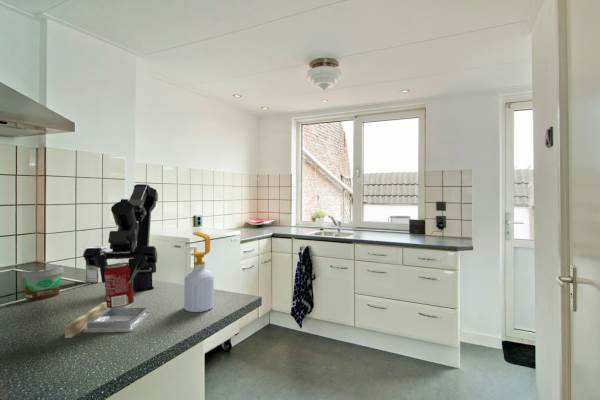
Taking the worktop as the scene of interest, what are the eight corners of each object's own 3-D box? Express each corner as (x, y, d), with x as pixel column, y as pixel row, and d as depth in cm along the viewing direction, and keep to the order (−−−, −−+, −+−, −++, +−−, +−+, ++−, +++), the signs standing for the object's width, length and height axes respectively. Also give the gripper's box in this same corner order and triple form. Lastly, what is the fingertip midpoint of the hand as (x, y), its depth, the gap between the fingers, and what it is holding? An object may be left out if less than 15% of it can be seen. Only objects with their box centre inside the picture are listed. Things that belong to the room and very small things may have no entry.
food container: (28, 303, 106) (27, 273, 106) (20, 300, 110) (20, 271, 110) (70, 294, 117) (70, 266, 117) (62, 291, 120) (62, 264, 120)
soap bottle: (190, 302, 109) (190, 230, 109) (217, 303, 109) (217, 230, 108) (179, 312, 100) (180, 233, 100) (208, 313, 100) (209, 234, 99)
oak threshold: (103, 311, 100) (103, 302, 100) (108, 311, 100) (108, 302, 100) (65, 337, 82) (64, 326, 82) (71, 337, 82) (71, 325, 82)
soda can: (129, 308, 89) (126, 265, 89) (102, 312, 88) (99, 268, 87) (137, 301, 95) (133, 261, 95) (112, 304, 94) (109, 263, 94)
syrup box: (108, 279, 137) (108, 245, 137) (98, 283, 131) (98, 247, 131) (95, 279, 138) (95, 245, 138) (85, 282, 132) (85, 247, 132)
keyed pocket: (107, 315, 97) (107, 307, 97) (148, 314, 98) (148, 307, 98) (84, 332, 85) (83, 323, 85) (131, 331, 86) (131, 323, 86)
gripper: (85, 220, 92) (69, 267, 82) (155, 219, 97) (148, 264, 87) (95, 243, 100) (81, 289, 90) (159, 241, 105) (154, 284, 95)
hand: (116, 281), depth 90 cm, fingers closed on soda can, 6 cm apart
